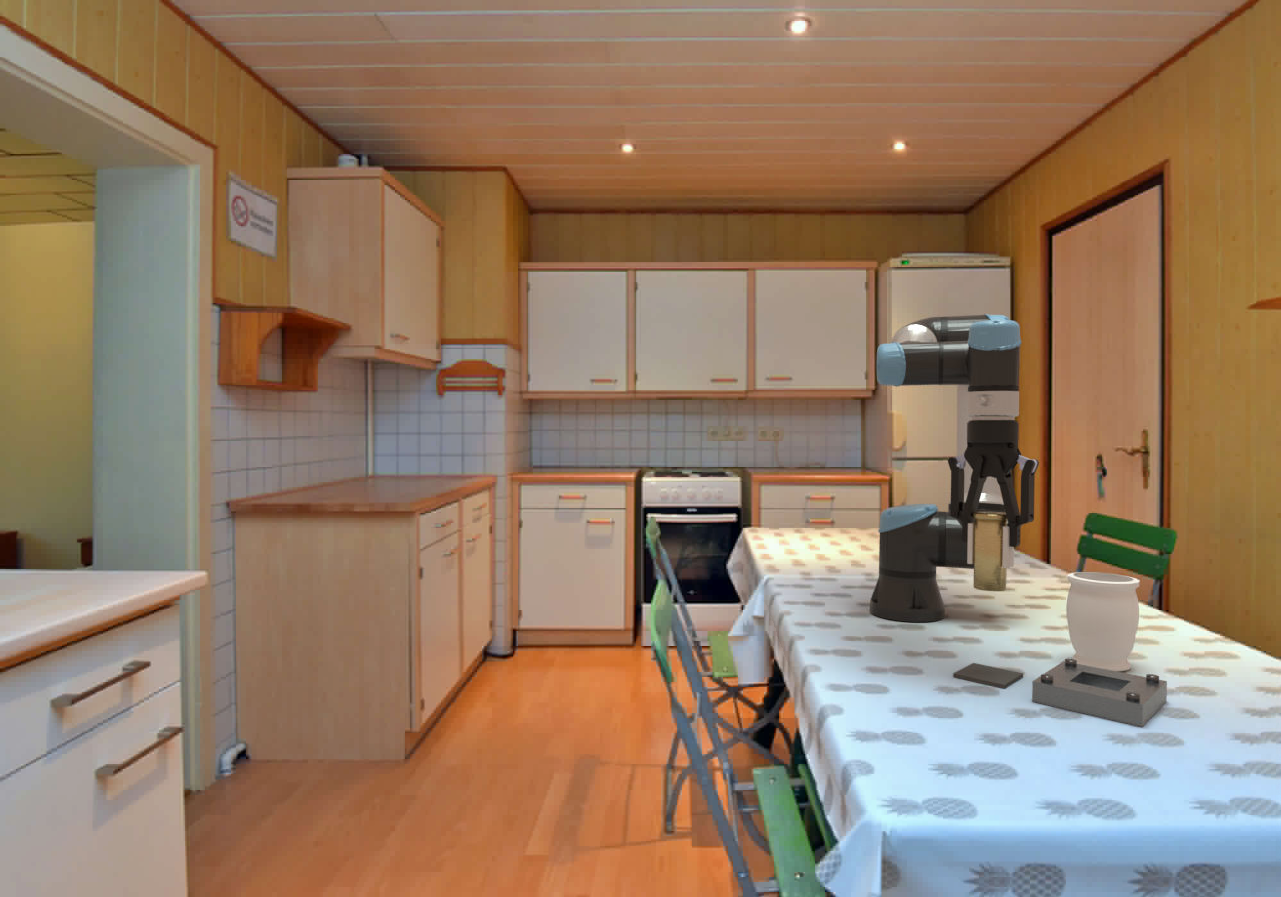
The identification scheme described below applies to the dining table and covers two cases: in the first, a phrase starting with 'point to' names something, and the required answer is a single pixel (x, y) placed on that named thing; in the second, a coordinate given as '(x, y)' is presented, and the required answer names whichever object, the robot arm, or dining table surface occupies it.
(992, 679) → the mat
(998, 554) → the brass-coloured knob
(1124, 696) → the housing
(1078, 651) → the jar
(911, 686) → the dining table surface
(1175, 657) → the dining table surface
